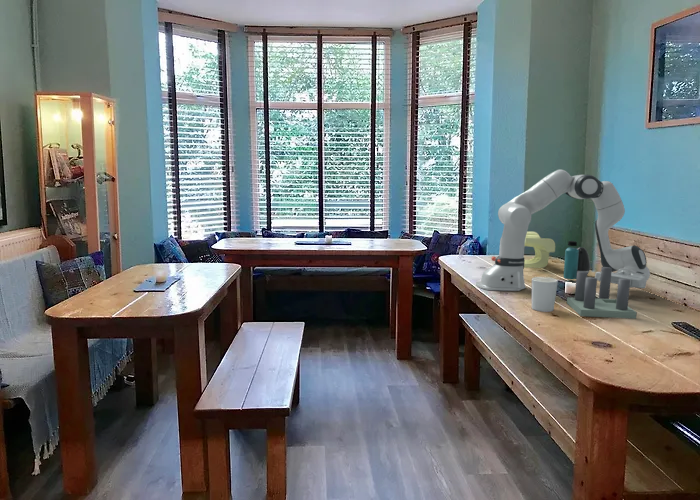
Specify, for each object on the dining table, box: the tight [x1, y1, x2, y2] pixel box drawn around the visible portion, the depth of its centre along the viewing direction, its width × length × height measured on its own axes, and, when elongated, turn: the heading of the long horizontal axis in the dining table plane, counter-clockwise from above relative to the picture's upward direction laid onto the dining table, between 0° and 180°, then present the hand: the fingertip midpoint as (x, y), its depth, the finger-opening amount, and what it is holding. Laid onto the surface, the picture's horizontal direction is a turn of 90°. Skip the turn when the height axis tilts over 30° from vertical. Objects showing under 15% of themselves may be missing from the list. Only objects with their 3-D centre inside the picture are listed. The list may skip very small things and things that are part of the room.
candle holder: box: [531, 276, 559, 313], centre depth 218 cm, size 10×10×12 cm
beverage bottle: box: [562, 240, 579, 280], centre depth 272 cm, size 6×7×20 cm
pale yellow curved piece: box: [524, 231, 556, 269], centre depth 313 cm, size 30×16×18 cm, turn 178°
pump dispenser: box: [576, 246, 591, 274], centre depth 286 cm, size 10×10×15 cm
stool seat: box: [566, 271, 637, 320], centre depth 217 cm, size 20×20×14 cm
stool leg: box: [598, 266, 612, 299], centre depth 234 cm, size 4×4×14 cm
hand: (611, 281), depth 238 cm, fingers open, 8 cm apart
